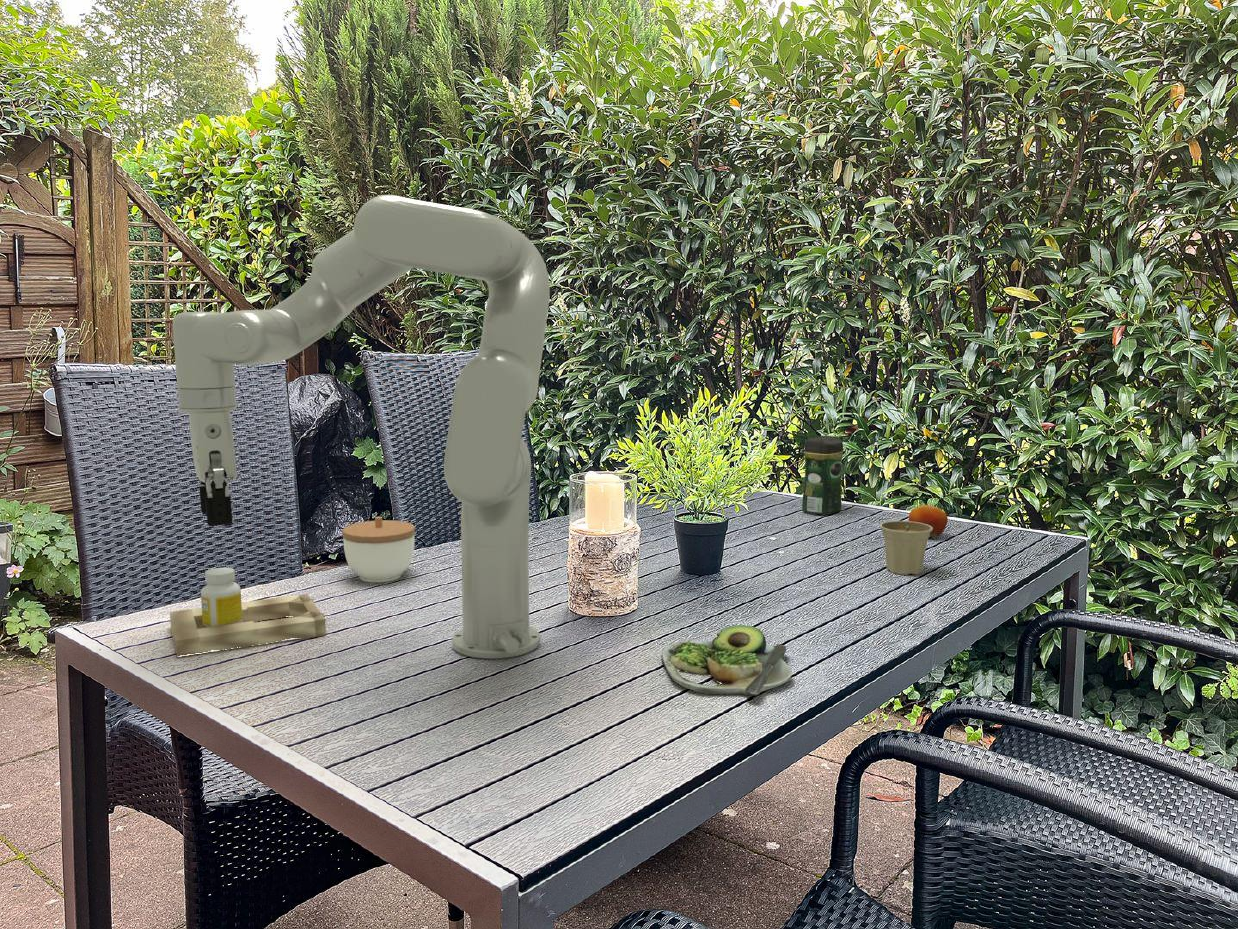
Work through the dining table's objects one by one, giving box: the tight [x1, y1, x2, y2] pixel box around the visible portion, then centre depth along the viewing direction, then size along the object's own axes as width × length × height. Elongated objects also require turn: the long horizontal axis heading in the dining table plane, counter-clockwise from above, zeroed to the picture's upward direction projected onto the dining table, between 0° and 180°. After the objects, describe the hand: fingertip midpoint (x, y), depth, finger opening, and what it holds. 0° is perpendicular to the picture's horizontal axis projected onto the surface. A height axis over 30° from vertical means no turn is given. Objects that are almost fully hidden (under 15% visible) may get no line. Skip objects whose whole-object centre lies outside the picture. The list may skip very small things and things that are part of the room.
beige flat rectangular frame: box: [169, 593, 327, 657], centre depth 140 cm, size 20×14×2 cm
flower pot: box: [879, 520, 933, 576], centre depth 175 cm, size 9×9×9 cm
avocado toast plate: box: [661, 624, 793, 696], centre depth 125 cm, size 19×18×5 cm
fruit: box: [908, 504, 949, 541], centre depth 203 cm, size 8×8×8 cm
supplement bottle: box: [200, 567, 243, 628], centre depth 138 cm, size 5×5×10 cm
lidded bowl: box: [341, 516, 416, 584], centre depth 168 cm, size 13×13×11 cm
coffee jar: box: [801, 435, 844, 516], centre depth 226 cm, size 10×8×19 cm
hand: (216, 518), depth 136 cm, fingers open, 9 cm apart
